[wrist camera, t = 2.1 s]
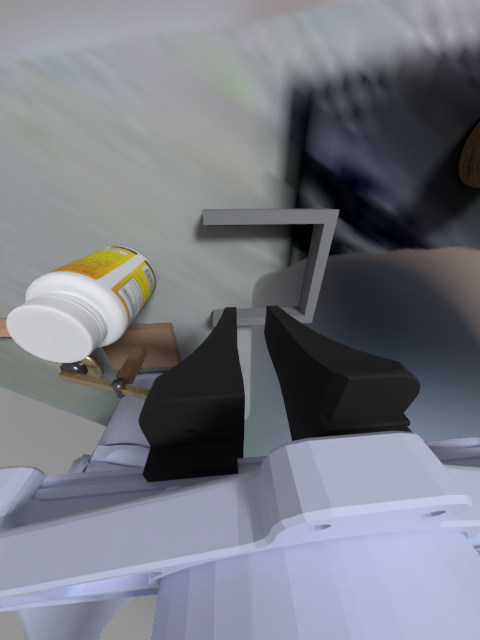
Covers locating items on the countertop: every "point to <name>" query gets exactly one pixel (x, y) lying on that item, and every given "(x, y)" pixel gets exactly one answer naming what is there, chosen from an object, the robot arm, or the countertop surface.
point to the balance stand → (143, 350)
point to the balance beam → (98, 378)
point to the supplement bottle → (82, 305)
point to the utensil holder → (471, 159)
